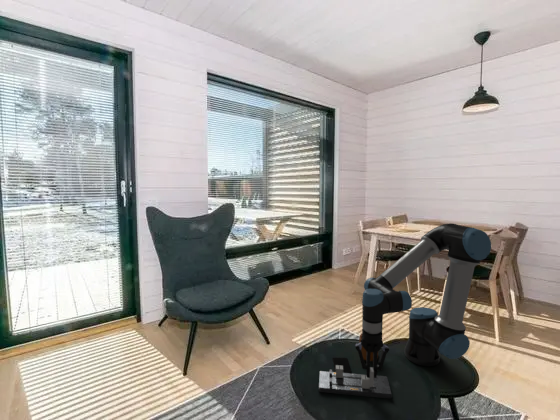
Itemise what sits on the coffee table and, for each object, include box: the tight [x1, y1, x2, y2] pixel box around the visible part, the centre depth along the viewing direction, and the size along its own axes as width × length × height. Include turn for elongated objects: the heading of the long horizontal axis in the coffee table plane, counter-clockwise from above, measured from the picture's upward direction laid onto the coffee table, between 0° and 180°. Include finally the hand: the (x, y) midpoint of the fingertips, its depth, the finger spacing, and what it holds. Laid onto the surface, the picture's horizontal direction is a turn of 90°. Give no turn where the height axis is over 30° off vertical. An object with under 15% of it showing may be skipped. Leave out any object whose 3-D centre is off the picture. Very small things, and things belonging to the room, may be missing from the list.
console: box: [318, 369, 393, 399], centre depth 126 cm, size 28×10×4 cm, turn 80°
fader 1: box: [336, 365, 343, 378], centre depth 129 cm, size 3×2×4 cm
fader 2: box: [361, 374, 370, 389], centre depth 122 cm, size 3×2×4 cm
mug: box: [358, 332, 379, 362], centre depth 147 cm, size 9×12×9 cm
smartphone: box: [332, 357, 353, 374], centre depth 137 cm, size 7×1×15 cm
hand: (371, 384), depth 122 cm, fingers closed
